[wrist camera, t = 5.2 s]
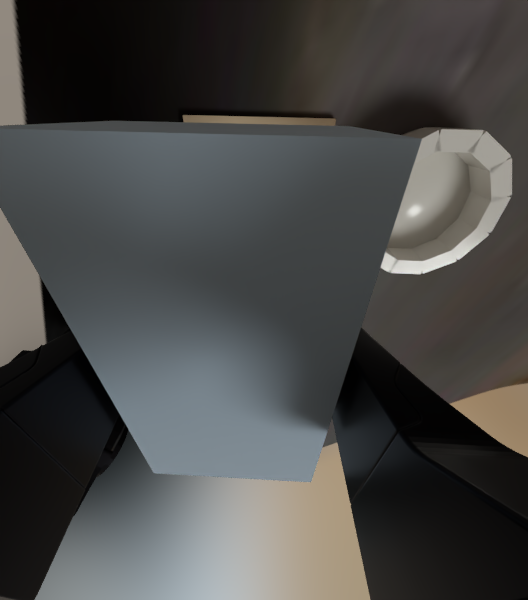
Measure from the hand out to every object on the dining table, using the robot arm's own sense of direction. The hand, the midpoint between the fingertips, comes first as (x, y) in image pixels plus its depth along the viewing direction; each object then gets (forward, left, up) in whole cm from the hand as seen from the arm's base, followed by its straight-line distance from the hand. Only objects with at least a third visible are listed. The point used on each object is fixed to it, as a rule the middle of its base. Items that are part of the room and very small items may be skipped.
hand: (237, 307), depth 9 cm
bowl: (+1, -11, -12) cm, 16 cm away
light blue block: (0, 0, -1) cm, 0 cm away
